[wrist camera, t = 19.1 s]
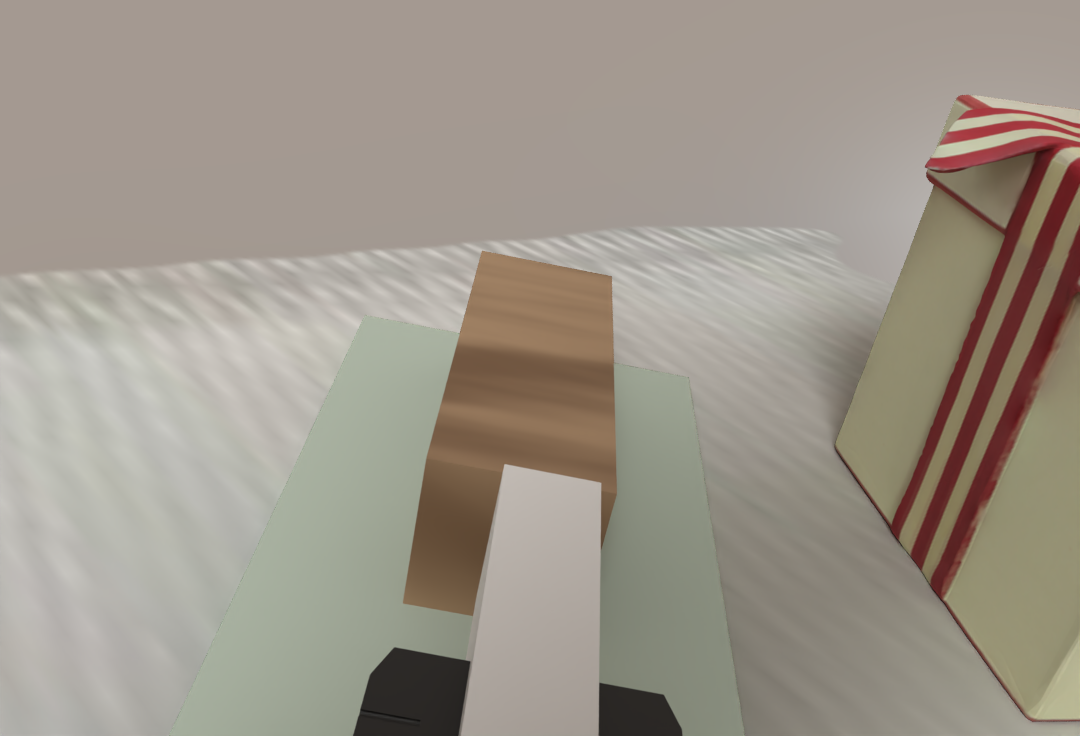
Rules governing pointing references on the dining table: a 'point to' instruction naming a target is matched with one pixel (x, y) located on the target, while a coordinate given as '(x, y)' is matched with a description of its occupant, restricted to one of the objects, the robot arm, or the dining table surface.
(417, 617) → the mat
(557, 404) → the walnut block
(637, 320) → the dining table surface
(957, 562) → the gift box
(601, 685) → the robot arm
